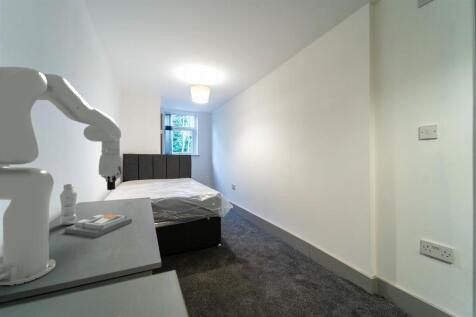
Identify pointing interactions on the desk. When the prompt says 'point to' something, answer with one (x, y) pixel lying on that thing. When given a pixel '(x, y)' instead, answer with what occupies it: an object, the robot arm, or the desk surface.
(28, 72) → the robot arm
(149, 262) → the desk surface
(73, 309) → the desk surface
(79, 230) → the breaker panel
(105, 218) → the breaker switch
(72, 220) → the plastic bottle
